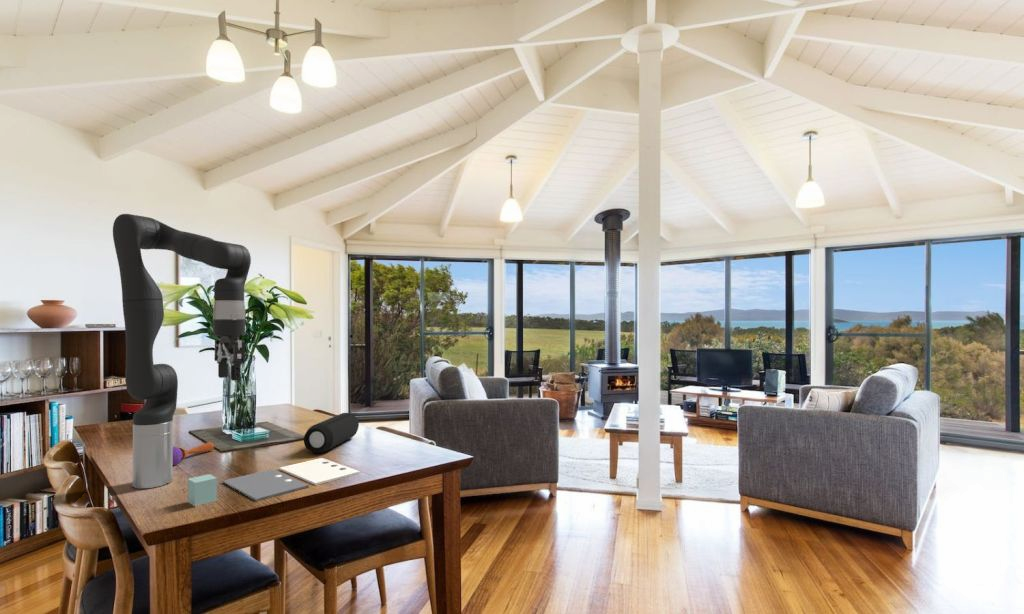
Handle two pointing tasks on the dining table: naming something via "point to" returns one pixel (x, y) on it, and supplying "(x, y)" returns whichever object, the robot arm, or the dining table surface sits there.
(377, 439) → the dining table surface
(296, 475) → the three dot pad
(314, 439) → the portable speaker
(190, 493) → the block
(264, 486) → the two dot pad
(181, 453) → the kendama
